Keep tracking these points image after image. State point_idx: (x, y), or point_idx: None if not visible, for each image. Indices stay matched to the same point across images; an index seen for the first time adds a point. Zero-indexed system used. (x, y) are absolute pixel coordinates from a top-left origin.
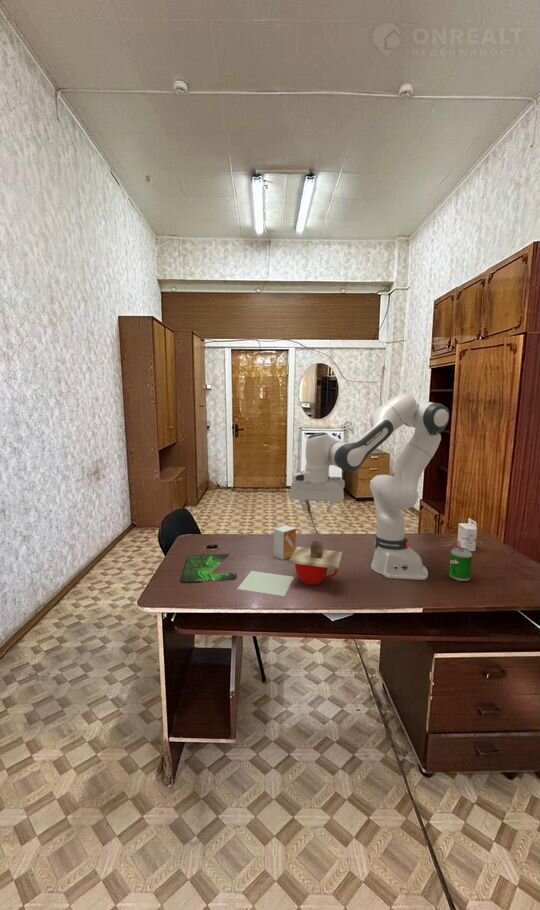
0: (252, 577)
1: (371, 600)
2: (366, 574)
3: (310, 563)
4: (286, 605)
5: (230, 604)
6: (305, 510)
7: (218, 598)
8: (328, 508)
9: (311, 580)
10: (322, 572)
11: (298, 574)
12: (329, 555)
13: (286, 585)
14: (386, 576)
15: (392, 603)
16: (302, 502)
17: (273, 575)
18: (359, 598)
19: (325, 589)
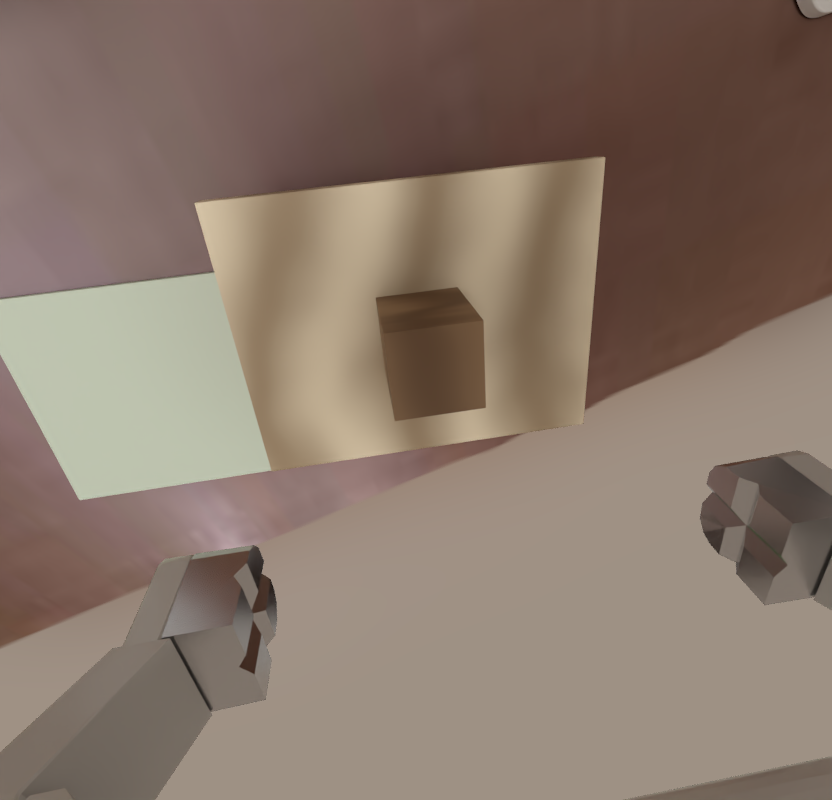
0: (51, 376)
1: (668, 331)
2: (680, 6)
3: (412, 448)
4: (344, 505)
5: (148, 583)
6: (271, 614)
7: (71, 573)
8: (802, 597)
9: None
10: None
11: None
12: (511, 281)
13: None
14: (807, 11)
15: (751, 319)
16: (92, 773)
17: (140, 303)
18: (618, 337)
19: None
